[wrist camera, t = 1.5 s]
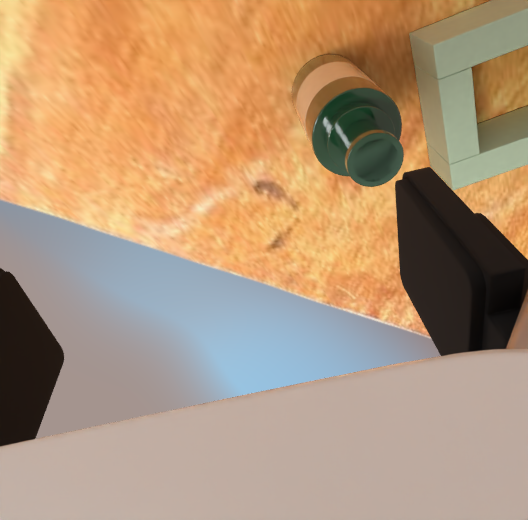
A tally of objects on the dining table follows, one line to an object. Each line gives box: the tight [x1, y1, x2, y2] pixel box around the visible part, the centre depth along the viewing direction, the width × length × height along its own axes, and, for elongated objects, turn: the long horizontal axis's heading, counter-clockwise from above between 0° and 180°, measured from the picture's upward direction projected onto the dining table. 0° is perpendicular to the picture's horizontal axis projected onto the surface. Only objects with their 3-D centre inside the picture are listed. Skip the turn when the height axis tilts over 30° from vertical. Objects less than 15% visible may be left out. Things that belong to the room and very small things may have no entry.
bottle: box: [292, 54, 404, 187], centre depth 29 cm, size 5×5×13 cm
